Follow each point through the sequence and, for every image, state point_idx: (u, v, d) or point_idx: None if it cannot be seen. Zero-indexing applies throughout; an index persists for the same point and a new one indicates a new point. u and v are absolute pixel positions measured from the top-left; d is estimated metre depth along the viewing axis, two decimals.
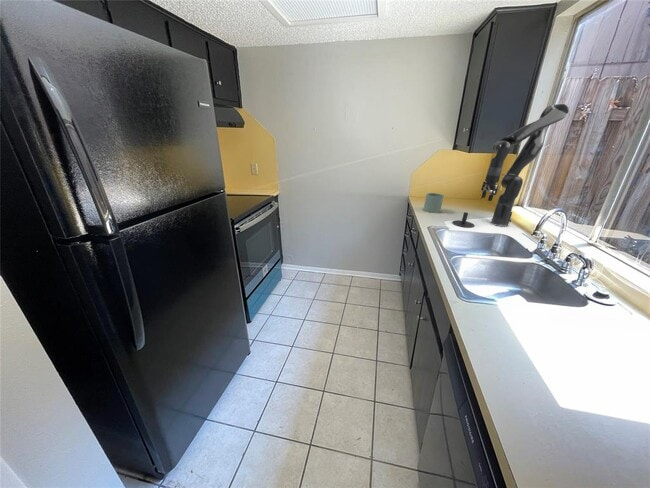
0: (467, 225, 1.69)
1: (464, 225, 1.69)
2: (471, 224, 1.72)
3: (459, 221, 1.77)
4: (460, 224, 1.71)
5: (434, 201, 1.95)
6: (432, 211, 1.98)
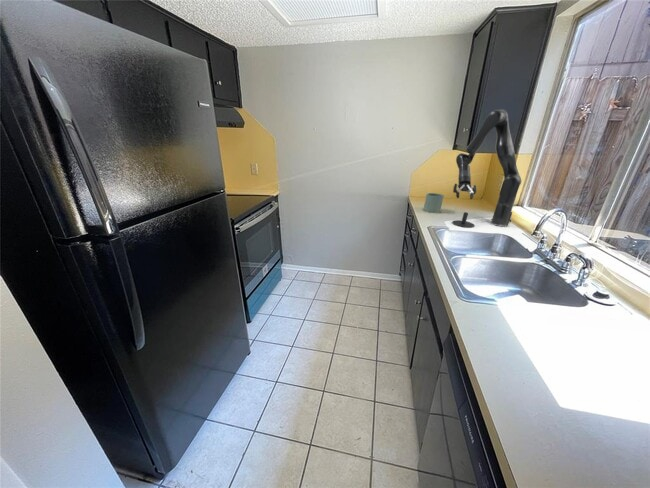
0: (467, 225, 1.69)
1: (464, 225, 1.69)
2: (471, 224, 1.72)
3: (459, 221, 1.77)
4: (460, 224, 1.71)
5: (434, 201, 1.95)
6: (432, 211, 1.98)
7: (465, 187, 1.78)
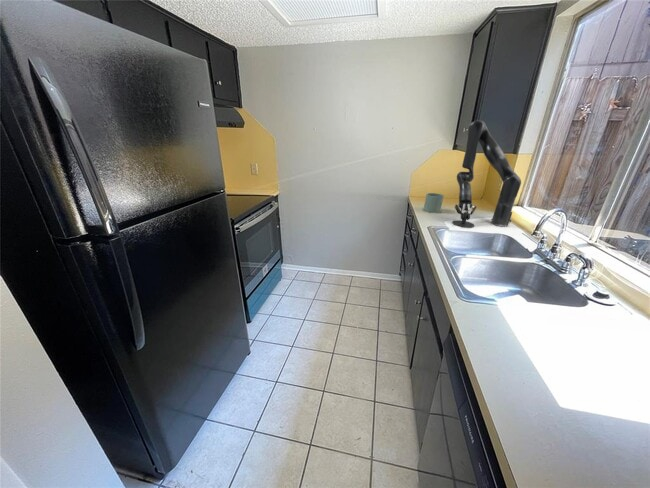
0: (467, 225, 1.69)
1: (464, 225, 1.69)
2: (471, 224, 1.72)
3: (459, 221, 1.77)
4: (460, 224, 1.71)
5: (434, 201, 1.95)
6: (432, 211, 1.98)
7: (466, 206, 1.72)
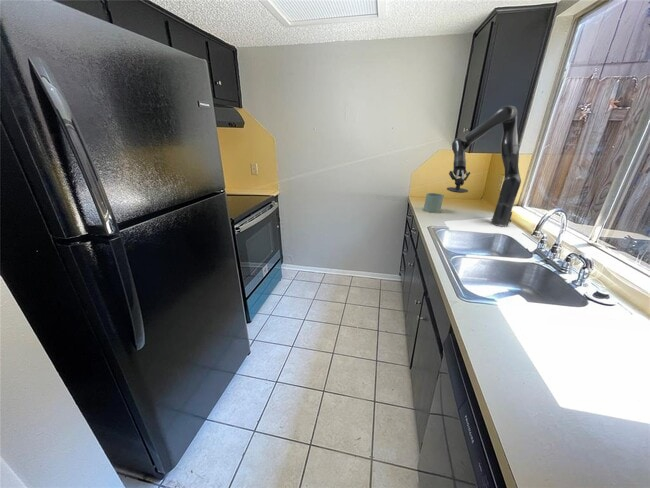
0: (461, 190, 1.72)
1: (458, 190, 1.72)
2: (465, 190, 1.74)
3: (453, 188, 1.79)
4: (454, 190, 1.74)
5: (434, 201, 1.95)
6: (432, 211, 1.98)
7: (460, 172, 1.74)
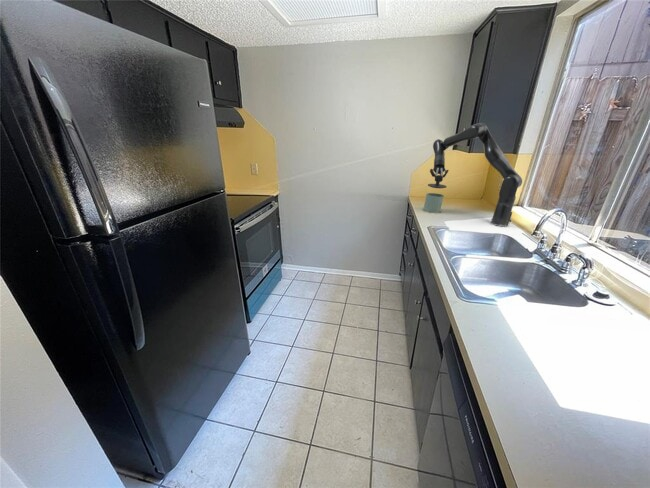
0: (440, 186, 1.92)
1: (437, 186, 1.92)
2: (444, 186, 1.94)
3: (434, 184, 1.99)
4: (434, 185, 1.94)
5: (434, 201, 1.95)
6: (432, 211, 1.98)
7: (439, 170, 1.94)
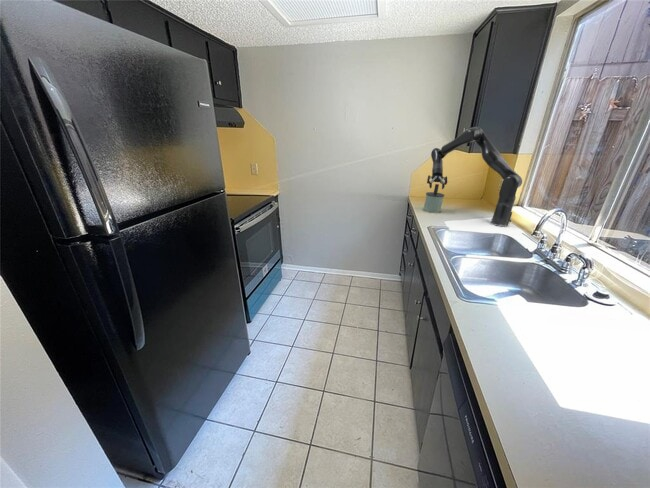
0: (438, 195, 1.95)
1: (435, 195, 1.95)
2: (442, 194, 1.97)
3: (432, 192, 2.02)
4: (432, 194, 1.97)
5: (434, 201, 1.95)
6: (432, 211, 1.98)
7: (437, 178, 1.97)
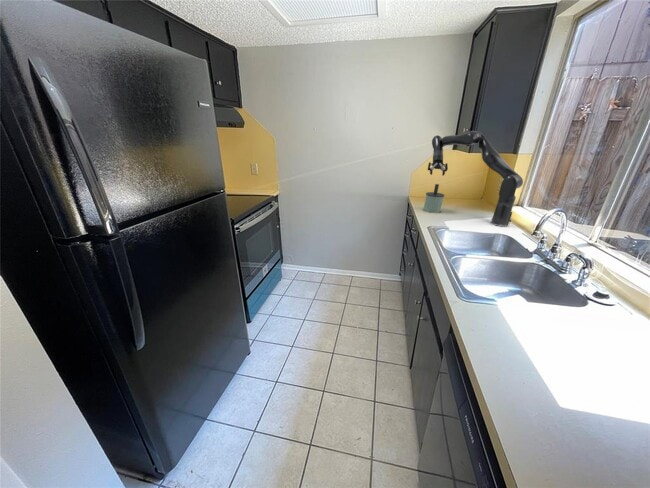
0: (438, 195, 1.95)
1: (435, 195, 1.95)
2: (442, 194, 1.97)
3: (432, 192, 2.02)
4: (432, 194, 1.97)
5: (434, 201, 1.95)
6: (432, 211, 1.98)
7: (438, 165, 2.00)
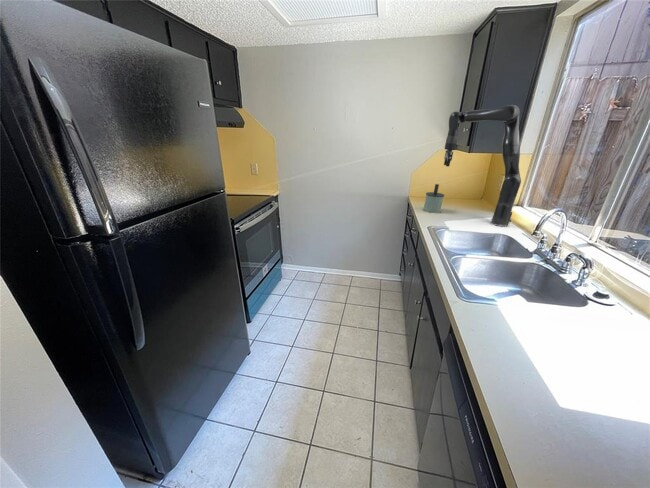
0: (438, 195, 1.95)
1: (435, 195, 1.95)
2: (442, 194, 1.97)
3: (432, 192, 2.02)
4: (432, 194, 1.97)
5: (434, 201, 1.95)
6: (432, 211, 1.98)
7: None
